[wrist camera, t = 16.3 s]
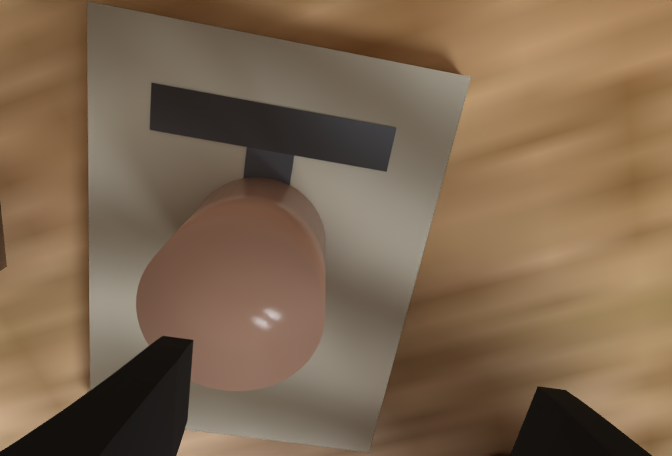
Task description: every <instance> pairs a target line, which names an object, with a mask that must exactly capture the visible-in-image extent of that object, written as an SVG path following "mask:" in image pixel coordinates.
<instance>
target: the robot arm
mask: <svg viewBox="0 0 672 456" xmlns="http://www.w3.org/2000/svg"><path fill="white" fill-rule="evenodd" d="M192 354H193V340H191V339H184V338H176V337H169V336H162V337H160V338H159V339H157V340H156V341H154V342H153V343H152V344H151V345H149V346H148V347H147V348H145V349H144V350H143V351H142V352H140V353H139V354H138V355H136V356H135V357H134V358H133V359H131V360H130V361H129V362H127V363H126V364H125V365H124V366H122V367H121V368H120V369H118V370H117V371H116V372H115V373H113V374H112V375H111V376H109V377H108V378H107V379H105V380H104V381H103V382H101V383H100V384H98V385H97V386H96V387H94V388H93V389H92V390H90V391H89V392H88V393H86V394H85V395H84V396H82V397H81V398H79V399H78V400H77V401H75V402H74V403H73V404H71V405H70V406H68V407H67V408H66V409H64V410H63V411H61V412H60V413H58V414H57V415H55V416H54V417H52V418H51V419H49V420H48V421H46V422H45V423H43V424H42V425H40V426H39V427H37V428H36V429H34V430H33V431H31V432H30V433H28V434H27V435H25V436H24V437H22V438H21V439H20V440H18V441H16V442H15V443H13V444H12V445H10V446H9V447H7V448H5V449H4V450H2V451H1V452H0V456H176V455H177V452H178V449H179V446H180V443H181V439H182V436H183V433H184V430H185V427H186V424H187V421H188V408H189V394H190V381H191V367H192ZM510 456H652V455H650V454H649V453H648V452H647V451H645V450H644V449H643V448H642V447H640V446H639V445H638V444H636V443H635V442H634V441H633V440H631V439H630V438H629V437H628V436H626V435H625V434H624V433H622V432H621V431H620V430H619V429H617V428H616V427H615V426H613V425H612V424H611V423H610V422H608V421H607V420H606V419H605V418H603V417H602V416H601V415H599V414H598V413H597V412H595V411H594V410H593V409H591V408H590V407H589V406H587V405H586V404H585V403H583V402H582V401H580V400H579V399H578V398H576V397H575V396H573V395H572V394H570V393H569V392H567V391H566V390H560V389H553V388H545V387H537V390H536V392H535V395H534V397H533V400H532V402H531V405H530V407H529V410H528V412H527V415H526V417H525V420H524V422H523V425H522V427H521V430H520V432H519V435H518V437H517V440H516V442H515V445H514V448H513V450H512V453H511V455H510Z"/></svg>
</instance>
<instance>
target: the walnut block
mask: <svg viewBox="0 0 672 456" xmlns="http://www.w3.org/2000/svg"><path fill="white" fill-rule="evenodd" d="M5 267H7V264H6V254H5V244H4V234H3V225H2V215H1V205H0V271H1V270H2V269H4V268H5Z"/></svg>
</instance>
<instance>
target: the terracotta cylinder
mask: <svg viewBox="0 0 672 456" xmlns="http://www.w3.org/2000/svg"><path fill="white" fill-rule="evenodd" d="M325 278H326V236H325V230H324V226H323V223H322V220H321V218H320V215H319V214H318V212H317V210H316V208H315V207H314V206H313V204H312V203H311V202H310V201H309V200H308V199H307V198H306V197H305V196H304V195H303V194H302V193H300V192H299V191H298V190H297V189H295V188H293V187H291V186H290V185H288V184H285V183H283V182H281V181H277V180H274V179H270V178H263V177H249V178H242V179H237V180H234V181H231V182H229V183H226V184H224V185H223V186H221V187H219V188H218V189H216V190H215V191H214V192H212V193H211V194H210V195H209V196H208V197H207V198H206V199H205V200H204V201H203V203H202V204H201V205H200V206H199V207H198V208H197V209H196V210H195V212H194V213H193V214H192V215H191V216H190V217H189V218H188V219H187V220H186V222H185V223H184V224H183V225H182V226H181V227H180V228H179V229H178V230H177V232H176V233H175V234H174V235H173V236H172V237H171V238H170V239H169V240H168V242H167V243H166V244H165V245H164V246H163V247H162V248H161V249H160V250H159V252H158V253H157V254H156V255H155V256H154V257H153V258H152V260H151V261H150V263H149V264H148V265H147V267H146V269H145V270H144V272H143V274H142V276H141V279H140V282H139V285H138V289H137V295H136V312H137V319H138V322H139V326H140V329H141V331H142V334H143V336H144V338H145V340H146V342H147V343H148V345H151V344H152V343H153V342H154V341H156V340H157V339H159V338H160V337H162V336H169V337H176V338H184V339H191V340H193V354H192V367H191V381H192V382H194V383H196V384H199V385H202V386H205V387H208V388H213V389H217V390H224V391H250V390H257V389H261V388H265V387H268V386H272V385H275V384H277V383H279V382H281V381H283V380H285V379H287V378H288V377H290V376H292V375H293V374H295V373H296V372H297V371H298V370H300V369H301V368H302V367H303V366H304V365H305V364H306V363H307V362H308V361H309V359H310V358H311V356H312V355H313V354H314V352H315V351H316V349H317V347H318V345H319V343H320V340H321V337H322V334H323V330H324V325H325Z"/></svg>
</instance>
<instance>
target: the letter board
mask: <svg viewBox="0 0 672 456" xmlns="http://www.w3.org/2000/svg"><path fill="white" fill-rule="evenodd" d="M87 76H88V198H89V321H90V390H92V389H93V388H94V387H96V386H97V385H98V384H100V383H101V382H103V381H104V380H105V379H107V378H108V377H109V376H111V375H112V374H113V373H115V372H116V371H117V370H118V369H120V368H121V367H122V366H124V365H125V364H126V363H127V362H129V361H130V360H131V359H133V358H134V357H135V356H136V355H138V354H139V353H140V352H142V351H143V350H144V349H145V348H147V347H148V346H149V345H148V343H147V342H146V340H145V338H144V336H143V334H142V331H141V329H140V326H139V322H138V319H137V312H136V295H137V289H138V285H139V282H140V279H141V276H142V274H143V272H144V270H145V269H146V267H147V265H148V264H149V263H150V261H151V260H152V258H153V257H154V256H155V255H156V254H157V253H158V252H159V250H160V249H161V248H162V247H163V246H164V245H165V244H166V243H167V242H168V240H169V239H170V238H171V237H172V236H173V235H174V234H175V233H176V232H177V230H178V229H179V228H180V227H181V226H182V225H183V224H184V223H185V222H186V220H187V219H188V218H189V217H190V216H191V215H192V214H193V213H194V212H195V210H196V209H197V208H198V207H199V206H200V205H201V204H202V203H203V201H204V200H205V199H206V198H207V197H208V196H209V195H210V194H211V193H212V192H214V191H215V190H216V189H218V188H219V187H221V186H223V185H224V184H226V183H229V182H231V181H234V180H237V179H242V178H249V177H263V178H270V179H274V180H277V181H281V182H283V183H285V184H288V185H290V186H291V187H293V188H295V189H297V190H298V191H299V192H300V193H302V194H303V195H304V196H305V197H306V198H307V199H308V200H309V201H310V202H311V203H312V204H313V206H314V207H315V208H316V210H317V212H318V214H319V215H320V218H321V220H322V223H323V226H324V230H325V236H326V278H325V325H324V330H323V334H322V337H321V340H320V343H319V345H318V347H317V349H316V351H315V352H314V354H313V355H312V356H311V358H310V359H309V361H308V362H307V363H306V364H305V365H304V366H303V367H302V368H301V369H300V370H298V371H297V372H296V373H295V374H293V375H292V376H290V377H288V378H287V379H285V380H283V381H281V382H279V383H277V384H275V385H272V386H268V387H265V388H261V389H257V390H250V391H224V390H217V389H213V388H208V387H205V386H202V385H199V384H196V383H194V382H192V381H190V394H189V408H188V421H187V424H186V427H185V429H186V430H194V431H202V432H210V433H218V434H225V435H233V436H241V437H249V438H257V439H265V440H273V441H281V442H289V443H297V444H305V445H313V446H321V447H329V448H337V449H345V450H353V451H361V452H368V453H369V450H370V447H371V443H372V439H373V436H374V432H375V428H376V425H377V421H378V417H379V414H380V410H381V406H382V402H383V399H384V395H385V391H386V388H387V384H388V380H389V377H390V373H391V369H392V366H393V362H394V358H395V355H396V351H397V347H398V344H399V340H400V336H401V333H402V329H403V325H404V322H405V318H406V314H407V311H408V307H409V303H410V299H411V296H412V292H413V288H414V285H415V281H416V277H417V274H418V270H419V266H420V263H421V259H422V255H423V252H424V248H425V244H426V241H427V237H428V233H429V230H430V226H431V222H432V219H433V215H434V211H435V208H436V204H437V200H438V196H439V193H440V189H441V185H442V182H443V178H444V174H445V171H446V167H447V163H448V160H449V156H450V152H451V149H452V145H453V141H454V138H455V134H456V130H457V127H458V123H459V119H460V116H461V112H462V108H463V105H464V101H465V97H466V94H467V90H468V86H469V82H470V79H471V77H469V76H464V75H459V74H454V73H449V72H444V71H439V70H434V69H429V68H423V67H418V66H413V65H408V64H403V63H398V62H393V61H388V60H383V59H378V58H373V57H368V56H363V55H358V54H353V53H348V52H342V51H337V50H332V49H327V48H322V47H317V46H312V45H307V44H302V43H297V42H292V41H287V40H282V39H277V38H272V37H267V36H261V35H256V34H251V33H246V32H241V31H236V30H231V29H226V28H221V27H216V26H211V25H206V24H201V23H196V22H191V21H186V20H180V19H175V18H170V17H165V16H160V15H155V14H150V13H145V12H140V11H135V10H130V9H125V8H120V7H115V6H110V5H105V4H99V3H94V2H89V1H87Z"/></svg>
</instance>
